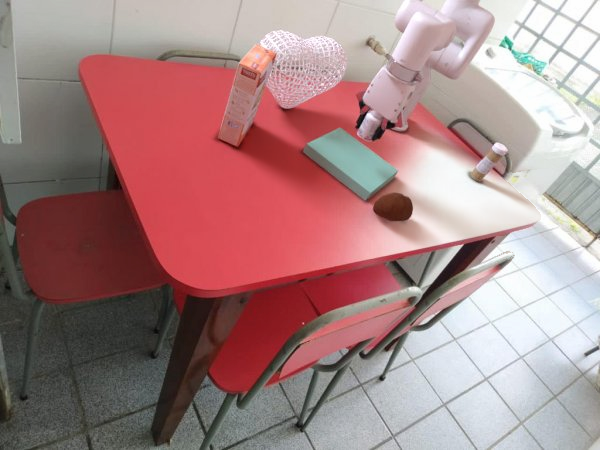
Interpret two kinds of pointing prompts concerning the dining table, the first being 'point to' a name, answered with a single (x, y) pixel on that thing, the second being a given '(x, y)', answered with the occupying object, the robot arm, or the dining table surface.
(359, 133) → the pill bottle
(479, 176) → the sprinkles bottle
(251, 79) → the cracker box
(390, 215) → the potato
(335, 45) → the heart
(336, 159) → the foam pad
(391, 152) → the dining table surface
